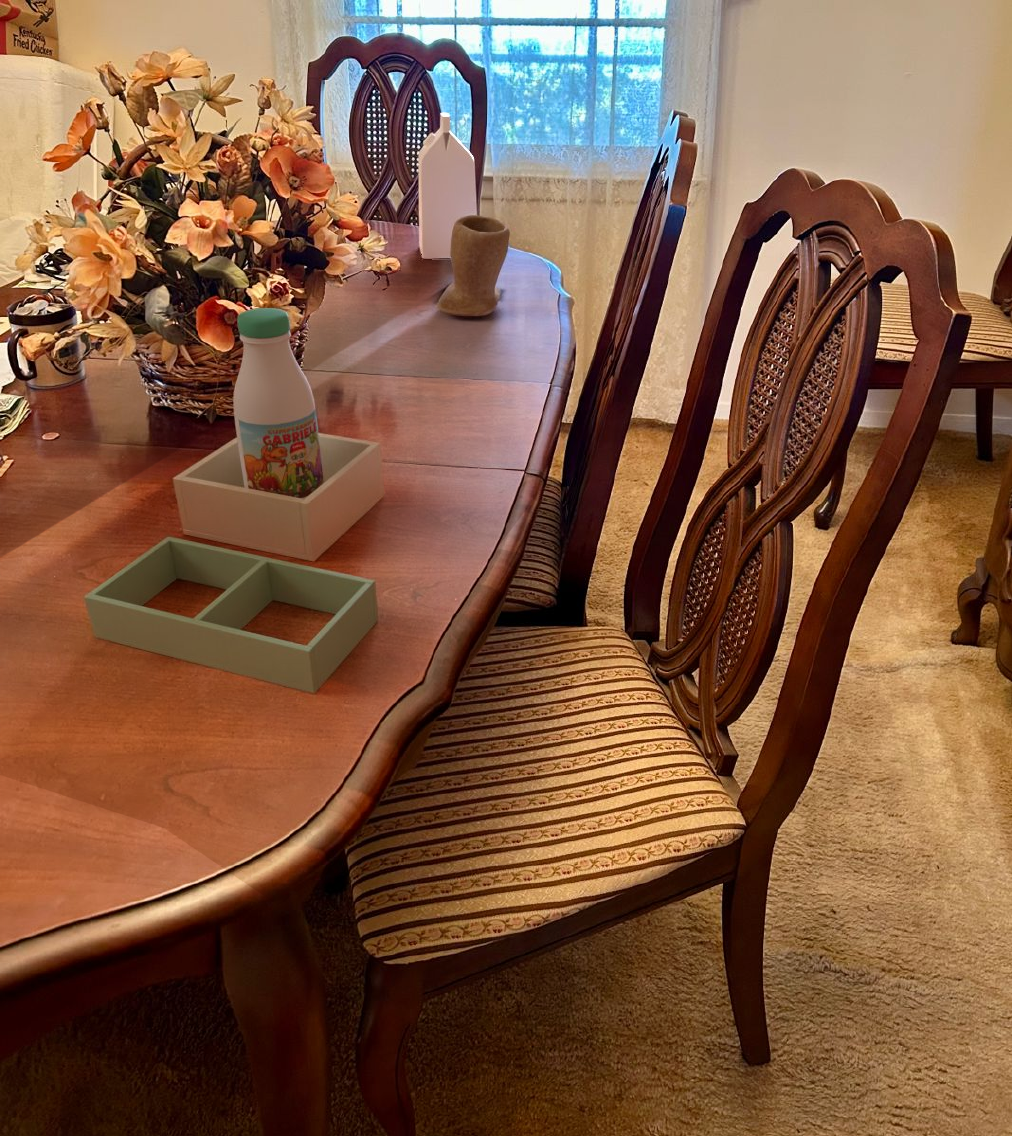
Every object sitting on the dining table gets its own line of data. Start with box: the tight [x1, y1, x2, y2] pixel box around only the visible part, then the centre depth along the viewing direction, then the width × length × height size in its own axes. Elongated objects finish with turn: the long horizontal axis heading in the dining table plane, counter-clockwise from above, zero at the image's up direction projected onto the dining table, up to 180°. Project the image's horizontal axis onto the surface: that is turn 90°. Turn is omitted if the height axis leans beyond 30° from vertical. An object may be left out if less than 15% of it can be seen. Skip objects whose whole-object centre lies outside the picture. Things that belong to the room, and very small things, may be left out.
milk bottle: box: [232, 307, 324, 499], centre depth 89 cm, size 8×8×20 cm
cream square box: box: [172, 432, 385, 563], centre depth 93 cm, size 15×15×6 cm
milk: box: [417, 112, 478, 258], centre depth 188 cm, size 12×12×26 cm
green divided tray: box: [83, 536, 379, 695], centre depth 77 cm, size 21×11×4 cm, turn 70°
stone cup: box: [437, 214, 511, 317], centre depth 155 cm, size 15×12×15 cm
